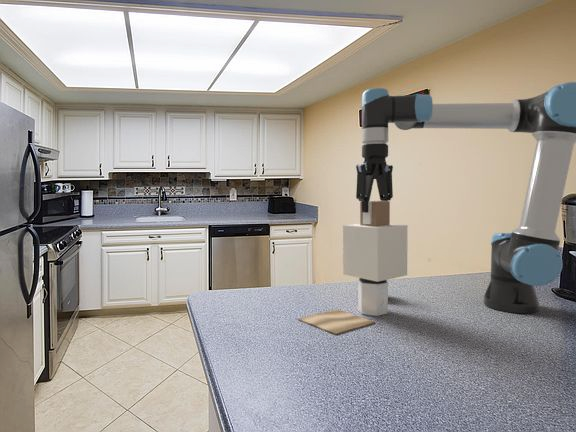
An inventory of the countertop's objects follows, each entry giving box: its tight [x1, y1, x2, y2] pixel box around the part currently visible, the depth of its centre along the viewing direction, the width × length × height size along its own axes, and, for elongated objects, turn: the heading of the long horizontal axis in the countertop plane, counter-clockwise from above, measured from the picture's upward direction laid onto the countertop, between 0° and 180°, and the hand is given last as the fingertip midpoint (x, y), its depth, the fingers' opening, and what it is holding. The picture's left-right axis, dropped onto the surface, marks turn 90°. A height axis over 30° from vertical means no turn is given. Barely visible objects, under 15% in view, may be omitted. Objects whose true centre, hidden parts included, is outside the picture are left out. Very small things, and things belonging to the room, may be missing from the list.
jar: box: [357, 278, 389, 317], centre depth 123 cm, size 9×8×12 cm
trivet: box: [297, 309, 376, 336], centre depth 114 cm, size 15×15×1 cm
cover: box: [342, 200, 409, 282], centre depth 122 cm, size 13×13×22 cm
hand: (374, 223), depth 122 cm, fingers closed on cover, 6 cm apart
